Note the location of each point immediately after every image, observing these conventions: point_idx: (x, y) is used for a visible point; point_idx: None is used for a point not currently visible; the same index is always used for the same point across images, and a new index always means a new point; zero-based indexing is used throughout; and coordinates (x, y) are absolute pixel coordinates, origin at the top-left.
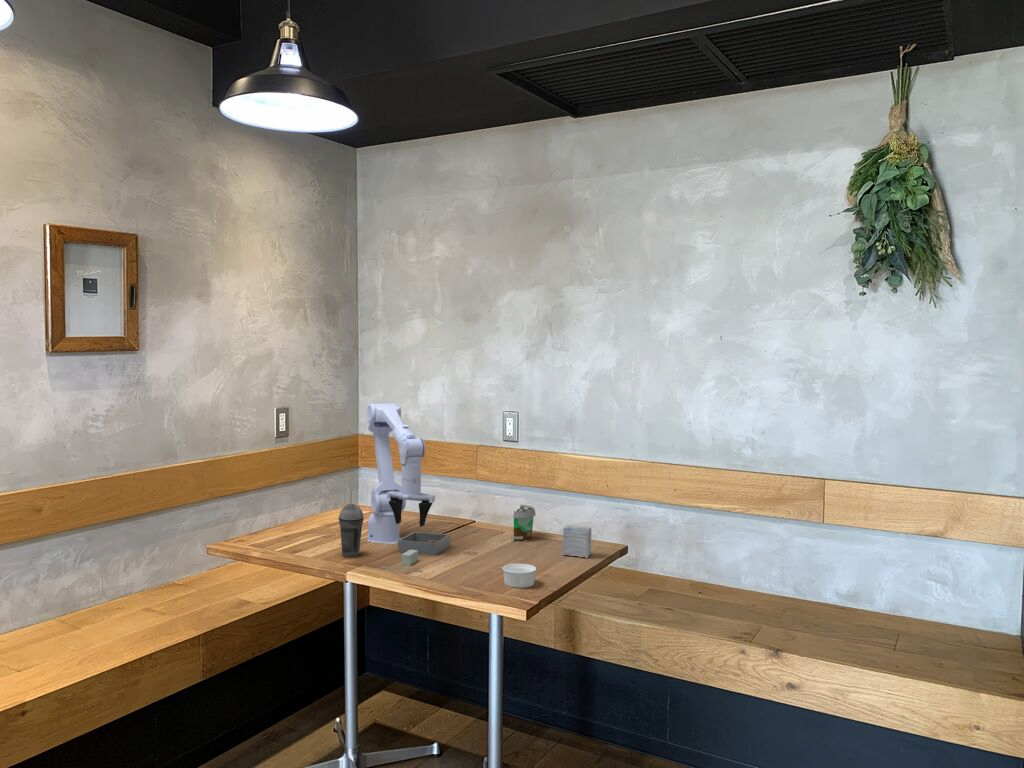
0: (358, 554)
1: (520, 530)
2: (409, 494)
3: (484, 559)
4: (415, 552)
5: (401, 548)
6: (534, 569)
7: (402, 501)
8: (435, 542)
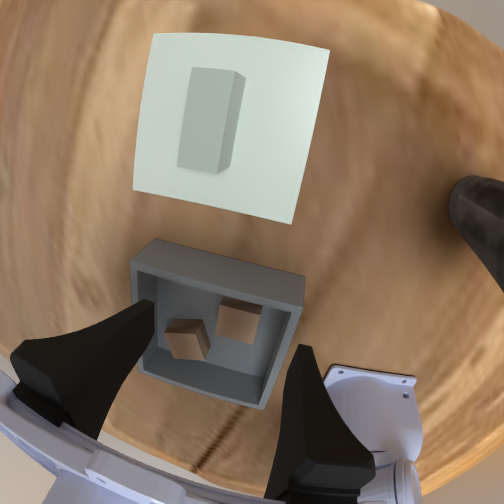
0: (453, 206)
1: None
2: (97, 497)
3: (43, 235)
4: (181, 135)
5: (289, 283)
6: None
7: (266, 491)
8: (171, 333)
